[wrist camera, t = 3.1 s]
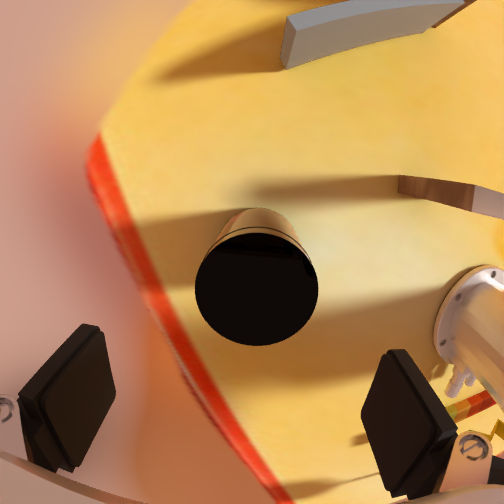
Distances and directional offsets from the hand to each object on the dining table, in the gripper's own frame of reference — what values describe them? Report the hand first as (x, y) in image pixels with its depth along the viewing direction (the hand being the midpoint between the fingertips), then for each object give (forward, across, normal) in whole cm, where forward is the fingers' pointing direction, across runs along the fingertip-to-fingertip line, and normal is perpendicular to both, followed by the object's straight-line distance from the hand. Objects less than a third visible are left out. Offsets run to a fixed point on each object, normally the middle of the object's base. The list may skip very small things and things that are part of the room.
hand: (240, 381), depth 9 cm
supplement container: (+18, -1, 0) cm, 18 cm away
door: (+17, -8, -20) cm, 27 cm away
